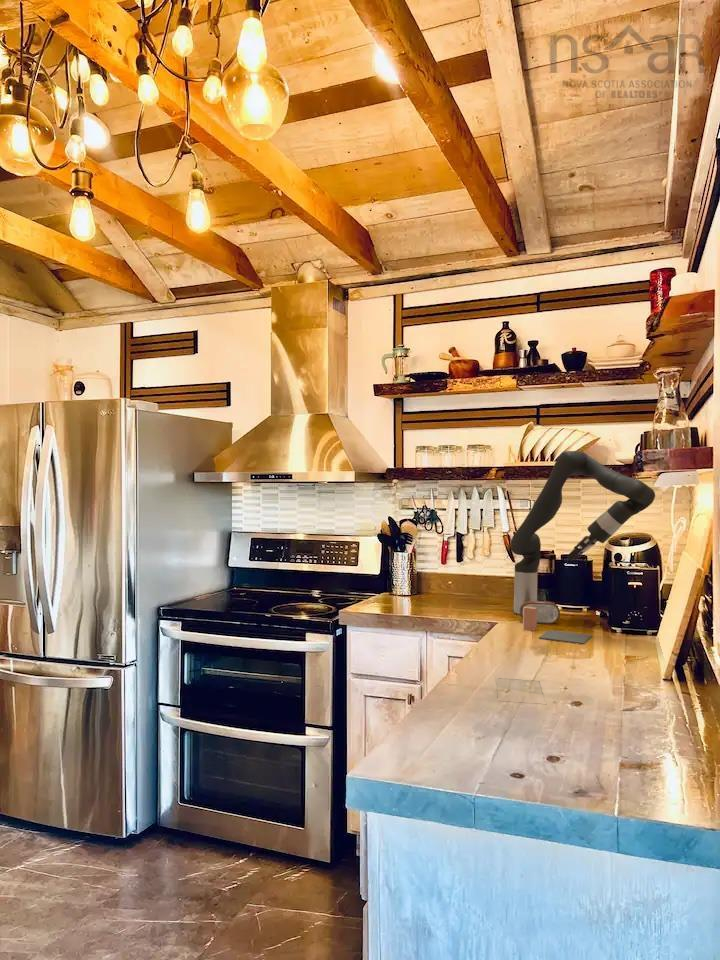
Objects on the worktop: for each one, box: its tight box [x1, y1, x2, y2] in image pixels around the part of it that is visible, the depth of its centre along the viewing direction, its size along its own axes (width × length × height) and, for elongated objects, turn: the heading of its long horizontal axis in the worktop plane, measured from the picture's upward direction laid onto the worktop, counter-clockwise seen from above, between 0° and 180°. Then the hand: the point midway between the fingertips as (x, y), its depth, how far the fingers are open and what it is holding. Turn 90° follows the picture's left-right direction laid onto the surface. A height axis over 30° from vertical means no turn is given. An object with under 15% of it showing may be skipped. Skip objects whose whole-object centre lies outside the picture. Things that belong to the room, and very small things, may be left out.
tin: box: [519, 600, 561, 625], centre depth 263 cm, size 15×3×8 cm, turn 84°
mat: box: [538, 629, 593, 645], centre depth 239 cm, size 14×15×1 cm
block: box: [522, 607, 538, 632], centre depth 251 cm, size 3×4×8 cm
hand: (571, 558), depth 244 cm, fingers open, 8 cm apart
